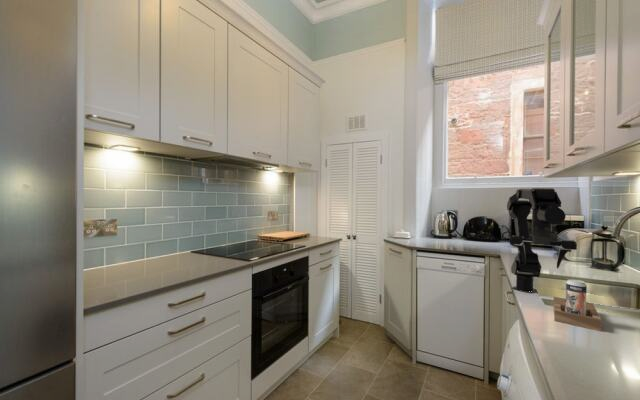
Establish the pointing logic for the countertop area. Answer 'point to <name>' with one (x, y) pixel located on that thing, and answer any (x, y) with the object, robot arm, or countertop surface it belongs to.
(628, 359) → the countertop surface
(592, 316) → the socket board
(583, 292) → the beer can
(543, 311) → the countertop surface
